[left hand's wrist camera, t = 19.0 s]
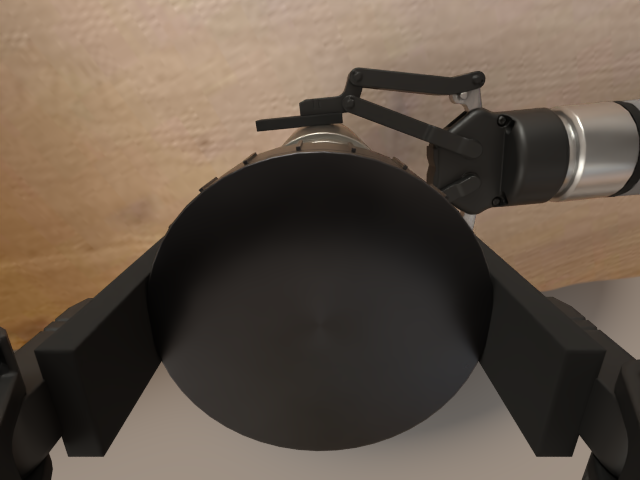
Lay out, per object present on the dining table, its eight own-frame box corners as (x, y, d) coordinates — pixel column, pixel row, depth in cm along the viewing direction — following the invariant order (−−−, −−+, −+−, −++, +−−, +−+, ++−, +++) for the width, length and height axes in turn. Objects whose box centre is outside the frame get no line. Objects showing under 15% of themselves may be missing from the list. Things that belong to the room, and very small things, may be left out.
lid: (471, 120, 10) (506, 125, 8) (463, 392, 13) (486, 440, 12) (136, 159, 10) (96, 171, 9) (208, 415, 14) (191, 464, 12)
